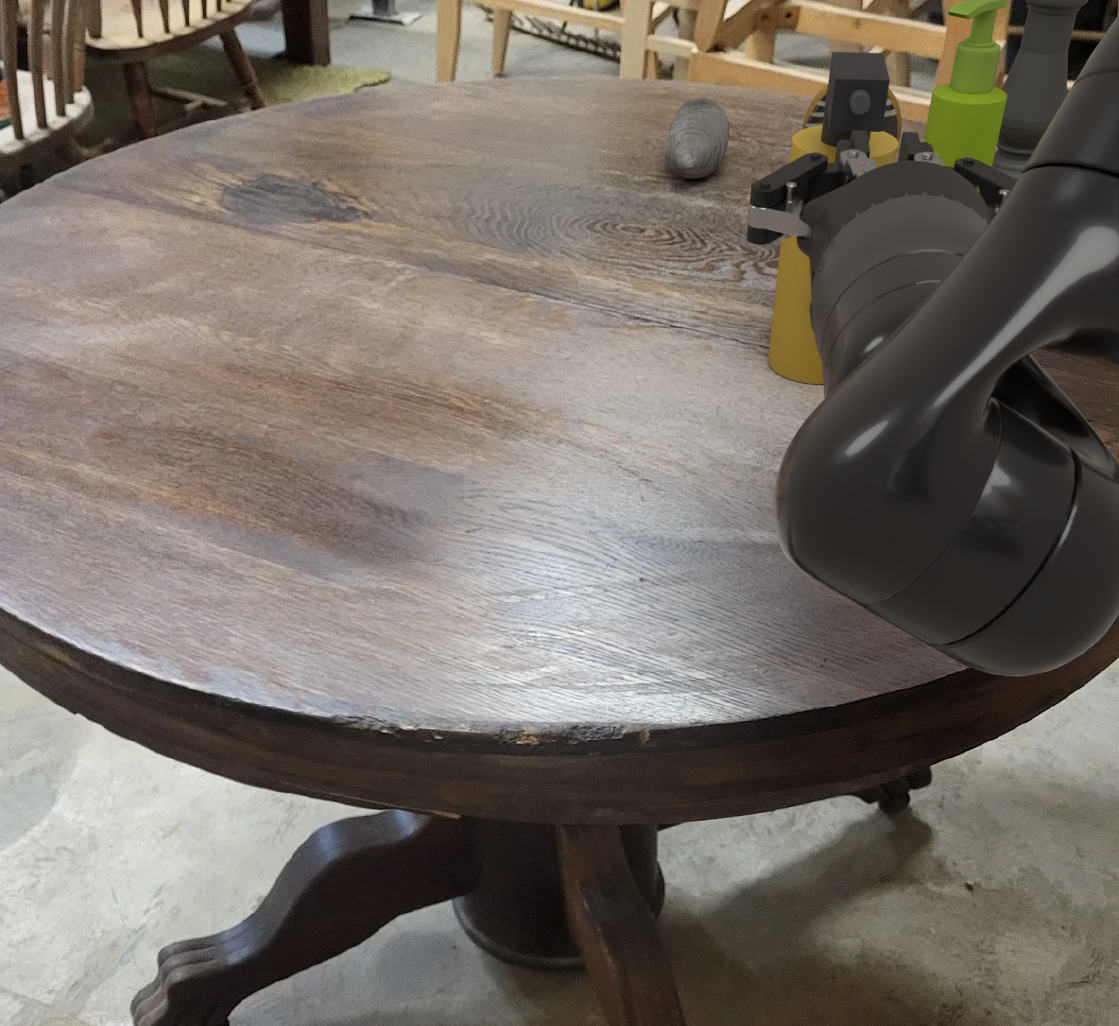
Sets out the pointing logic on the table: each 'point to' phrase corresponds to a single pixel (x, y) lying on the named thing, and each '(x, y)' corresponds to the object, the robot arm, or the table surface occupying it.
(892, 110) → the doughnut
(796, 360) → the spray bottle
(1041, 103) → the candle holder
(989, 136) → the soap dispenser
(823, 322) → the robot arm
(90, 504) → the table surface
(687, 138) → the seashell
